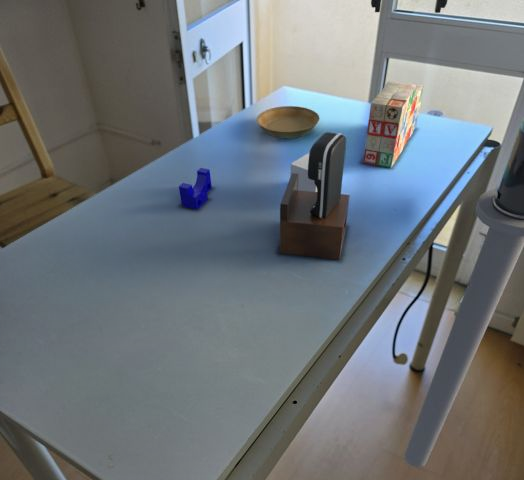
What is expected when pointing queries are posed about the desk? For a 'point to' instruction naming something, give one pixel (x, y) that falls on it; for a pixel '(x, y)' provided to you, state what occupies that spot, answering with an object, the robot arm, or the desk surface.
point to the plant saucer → (288, 121)
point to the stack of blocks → (391, 122)
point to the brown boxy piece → (310, 224)
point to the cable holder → (196, 190)
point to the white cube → (303, 174)
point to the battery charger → (327, 171)
